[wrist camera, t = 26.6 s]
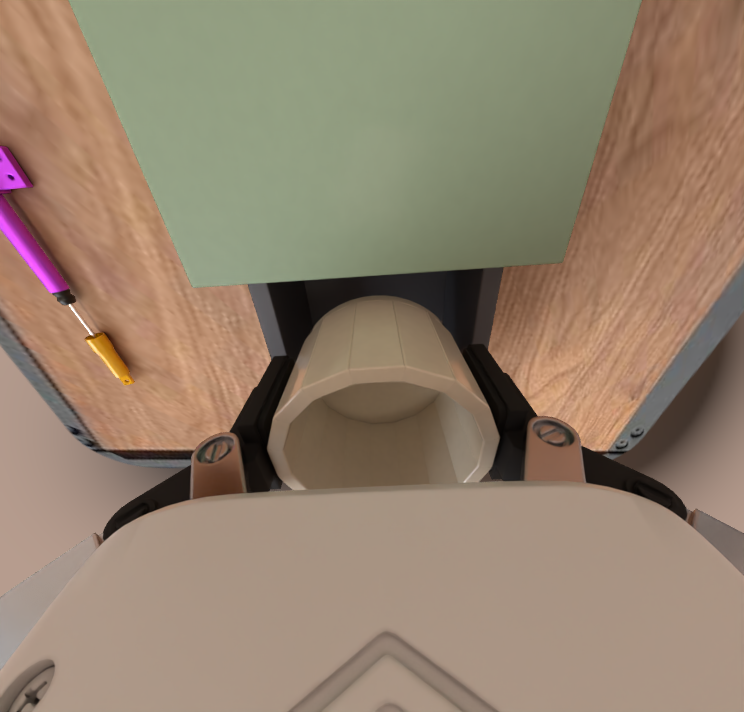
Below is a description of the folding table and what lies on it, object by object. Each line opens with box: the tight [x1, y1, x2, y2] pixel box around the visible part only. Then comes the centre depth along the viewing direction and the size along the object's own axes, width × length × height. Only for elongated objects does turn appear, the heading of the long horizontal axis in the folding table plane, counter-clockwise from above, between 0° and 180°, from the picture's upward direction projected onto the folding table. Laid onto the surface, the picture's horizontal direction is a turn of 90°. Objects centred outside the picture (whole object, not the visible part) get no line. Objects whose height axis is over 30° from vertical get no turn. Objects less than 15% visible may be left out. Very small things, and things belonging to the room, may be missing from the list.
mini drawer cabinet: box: [69, 0, 642, 288], centre depth 9 cm, size 15×13×9 cm
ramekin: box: [267, 296, 500, 490], centre depth 11 cm, size 7×7×5 cm
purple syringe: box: [0, 146, 135, 385], centre depth 18 cm, size 3×1×16 cm
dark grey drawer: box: [248, 267, 503, 363], centre depth 17 cm, size 19×12×7 cm, turn 4°
